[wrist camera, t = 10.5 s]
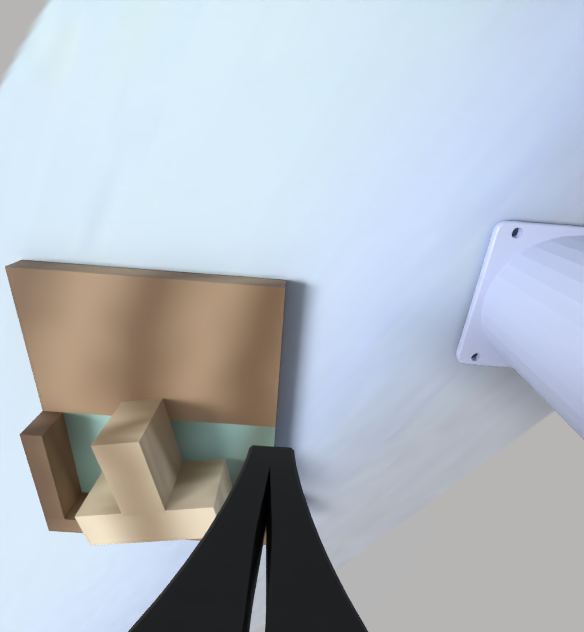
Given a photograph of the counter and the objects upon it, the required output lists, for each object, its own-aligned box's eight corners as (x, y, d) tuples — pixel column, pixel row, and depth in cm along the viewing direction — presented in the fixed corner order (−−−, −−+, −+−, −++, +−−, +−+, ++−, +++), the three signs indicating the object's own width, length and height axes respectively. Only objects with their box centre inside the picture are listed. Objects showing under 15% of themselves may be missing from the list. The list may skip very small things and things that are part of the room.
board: (286, 280, 19) (283, 303, 17) (270, 501, 26) (266, 544, 24) (21, 260, 19) (-29, 279, 16) (76, 488, 26) (49, 530, 23)
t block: (208, 394, 21) (192, 437, 18) (232, 486, 24) (222, 537, 21) (77, 406, 22) (38, 450, 18) (116, 494, 25) (89, 545, 22)
